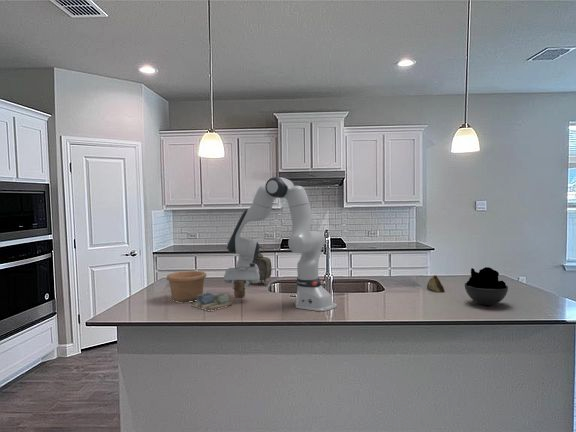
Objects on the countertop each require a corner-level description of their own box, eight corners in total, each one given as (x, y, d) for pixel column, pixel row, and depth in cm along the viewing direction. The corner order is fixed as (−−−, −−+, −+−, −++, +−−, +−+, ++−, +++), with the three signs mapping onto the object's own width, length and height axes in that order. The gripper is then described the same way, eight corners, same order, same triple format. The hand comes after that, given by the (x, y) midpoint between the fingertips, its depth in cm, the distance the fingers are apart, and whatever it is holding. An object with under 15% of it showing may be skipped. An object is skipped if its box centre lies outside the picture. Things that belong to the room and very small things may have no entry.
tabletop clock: (247, 284, 265) (246, 247, 264) (253, 281, 273) (252, 245, 272) (267, 286, 259) (266, 247, 258) (273, 283, 267) (272, 246, 266)
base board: (231, 305, 215) (231, 294, 214) (210, 311, 204) (209, 299, 204) (213, 300, 225) (213, 290, 225) (192, 306, 215) (191, 295, 215)
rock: (421, 284, 244) (426, 286, 234) (429, 273, 244) (434, 274, 234) (436, 295, 243) (441, 297, 233) (444, 284, 243) (450, 285, 233)
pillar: (245, 296, 222) (244, 280, 222) (242, 298, 218) (241, 281, 218) (237, 296, 223) (236, 280, 223) (234, 298, 219) (233, 281, 219)
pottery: (197, 304, 218) (196, 278, 217) (160, 303, 222) (159, 277, 221) (212, 295, 239) (211, 271, 238) (178, 294, 243) (177, 270, 243)
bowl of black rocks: (508, 302, 210) (508, 266, 209) (507, 311, 193) (507, 273, 192) (467, 297, 220) (467, 263, 219) (462, 306, 203) (462, 269, 202)
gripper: (225, 264, 229) (219, 285, 220) (259, 264, 225) (255, 285, 216) (228, 271, 233) (222, 291, 224) (262, 271, 229) (258, 291, 220)
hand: (239, 288), depth 220 cm, fingers closed on pillar, 4 cm apart
